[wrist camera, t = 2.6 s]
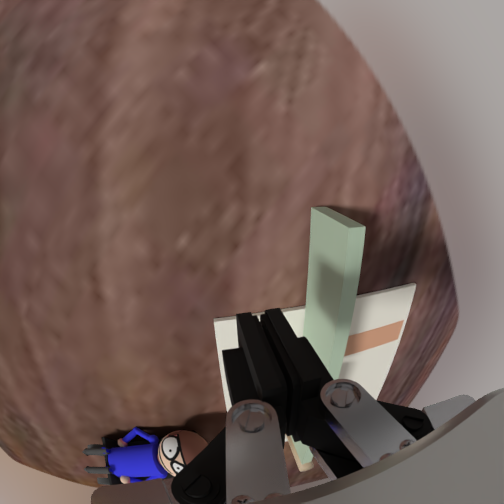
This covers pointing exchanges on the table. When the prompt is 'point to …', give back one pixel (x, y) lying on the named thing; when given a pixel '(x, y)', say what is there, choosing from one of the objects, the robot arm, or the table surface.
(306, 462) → the fixed fence panel
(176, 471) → the character figurine
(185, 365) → the table surface
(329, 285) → the hinged fence panel
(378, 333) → the card
